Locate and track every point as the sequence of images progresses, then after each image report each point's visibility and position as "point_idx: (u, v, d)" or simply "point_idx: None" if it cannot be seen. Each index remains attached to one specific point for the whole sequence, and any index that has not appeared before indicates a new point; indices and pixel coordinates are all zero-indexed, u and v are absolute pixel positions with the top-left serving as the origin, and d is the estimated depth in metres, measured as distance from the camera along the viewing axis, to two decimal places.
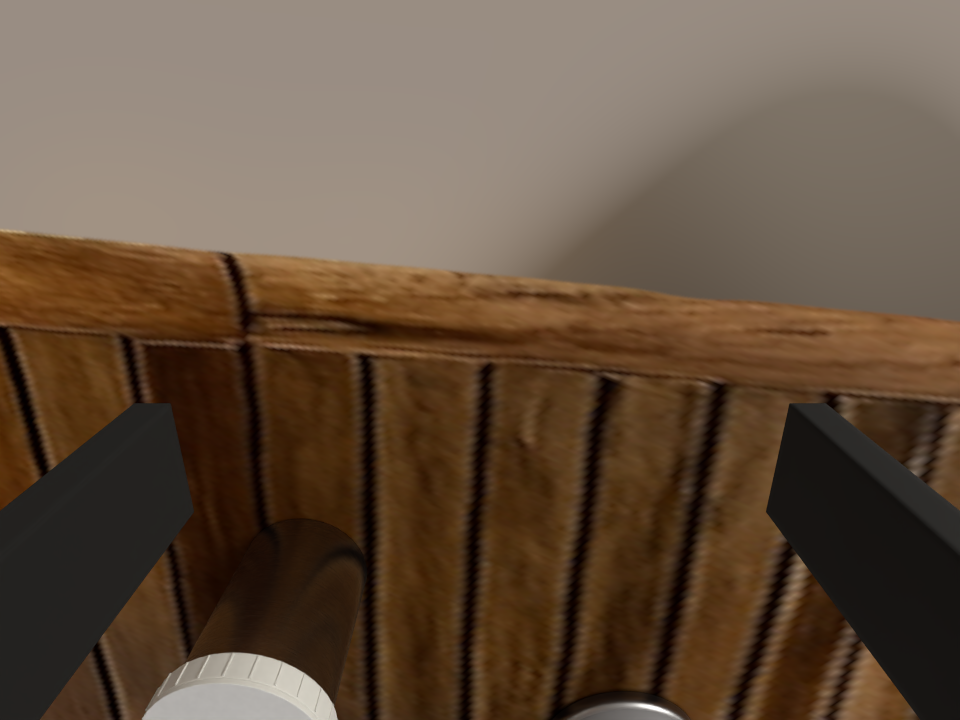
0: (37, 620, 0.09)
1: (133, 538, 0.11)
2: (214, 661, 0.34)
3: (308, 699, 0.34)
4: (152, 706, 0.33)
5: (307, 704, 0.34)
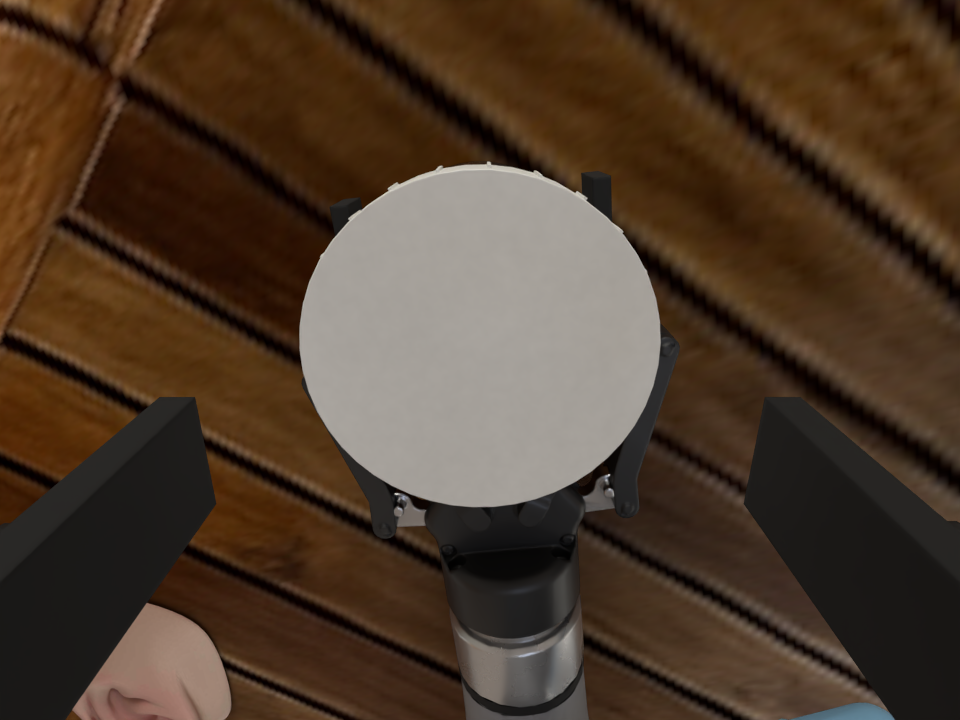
0: (76, 604, 0.09)
1: (161, 528, 0.11)
2: None
3: (464, 167, 0.17)
4: (312, 398, 0.19)
5: (466, 168, 0.17)
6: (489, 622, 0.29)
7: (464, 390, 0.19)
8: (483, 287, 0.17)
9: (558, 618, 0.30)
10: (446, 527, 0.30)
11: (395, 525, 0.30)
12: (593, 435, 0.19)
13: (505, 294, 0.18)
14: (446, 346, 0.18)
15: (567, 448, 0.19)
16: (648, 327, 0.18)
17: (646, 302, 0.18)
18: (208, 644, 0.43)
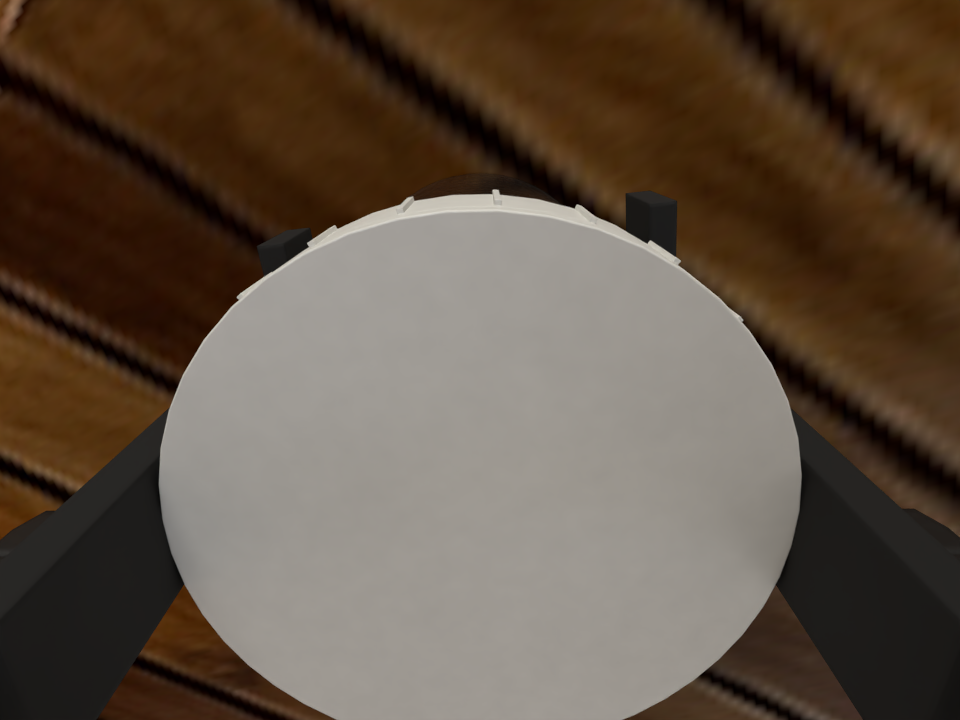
0: (119, 588, 0.09)
1: None
2: None
3: (452, 203, 0.09)
4: (192, 594, 0.11)
5: (453, 206, 0.09)
6: None
7: (453, 583, 0.11)
8: (486, 420, 0.10)
9: None
10: None
11: None
12: (671, 649, 0.11)
13: (526, 431, 0.10)
14: (420, 515, 0.10)
15: (627, 667, 0.12)
16: (781, 485, 0.10)
17: (781, 445, 0.10)
18: None
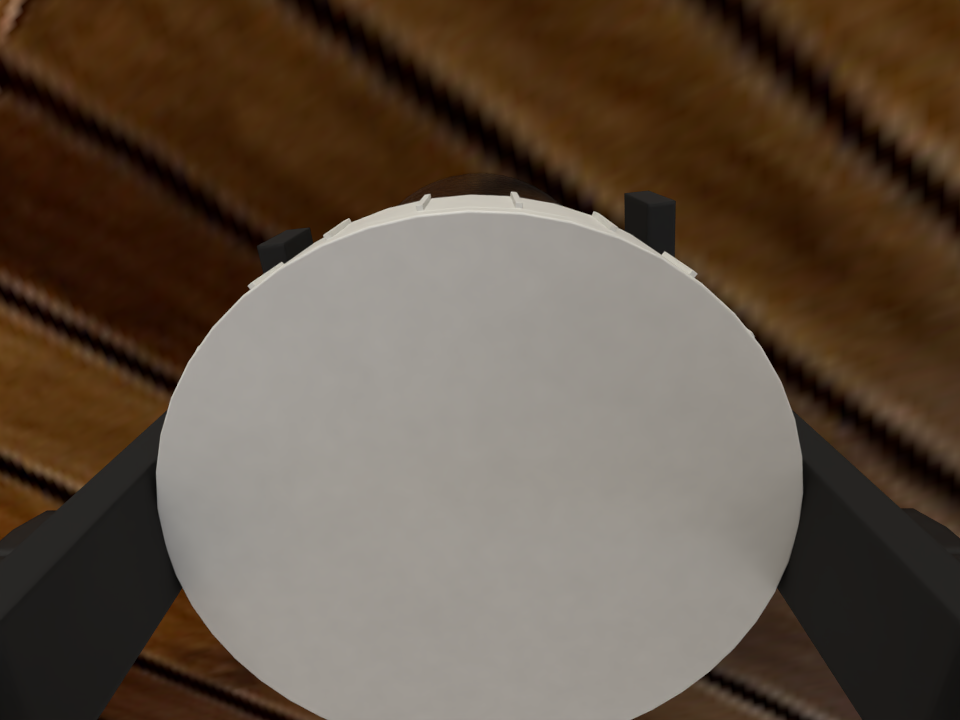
0: (120, 588, 0.09)
1: None
2: None
3: None
4: None
5: None
6: None
7: (540, 561, 0.11)
8: (351, 525, 0.10)
9: None
10: None
11: None
12: (672, 345, 0.09)
13: (363, 494, 0.10)
14: (456, 581, 0.11)
15: (693, 396, 0.09)
16: (431, 239, 0.08)
17: (376, 246, 0.08)
18: None
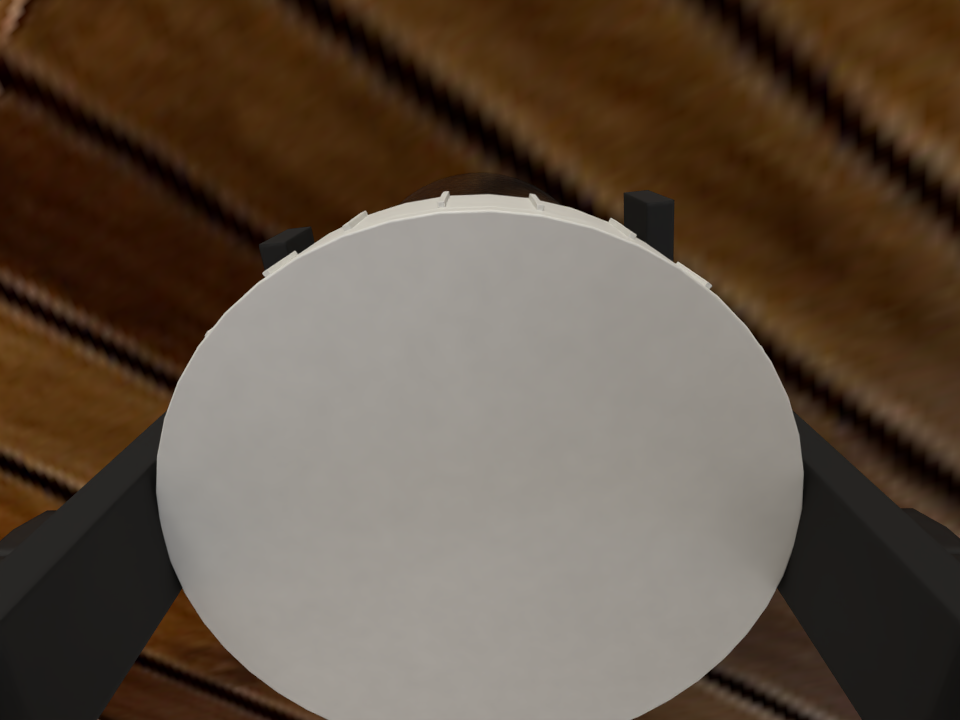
0: (120, 588, 0.09)
1: None
2: None
3: None
4: (800, 497, 0.10)
5: None
6: None
7: (516, 484, 0.10)
8: (461, 631, 0.11)
9: None
10: None
11: None
12: (261, 370, 0.09)
13: (427, 620, 0.11)
14: (535, 557, 0.10)
15: (315, 346, 0.09)
16: (187, 553, 0.10)
17: (198, 588, 0.11)
18: None
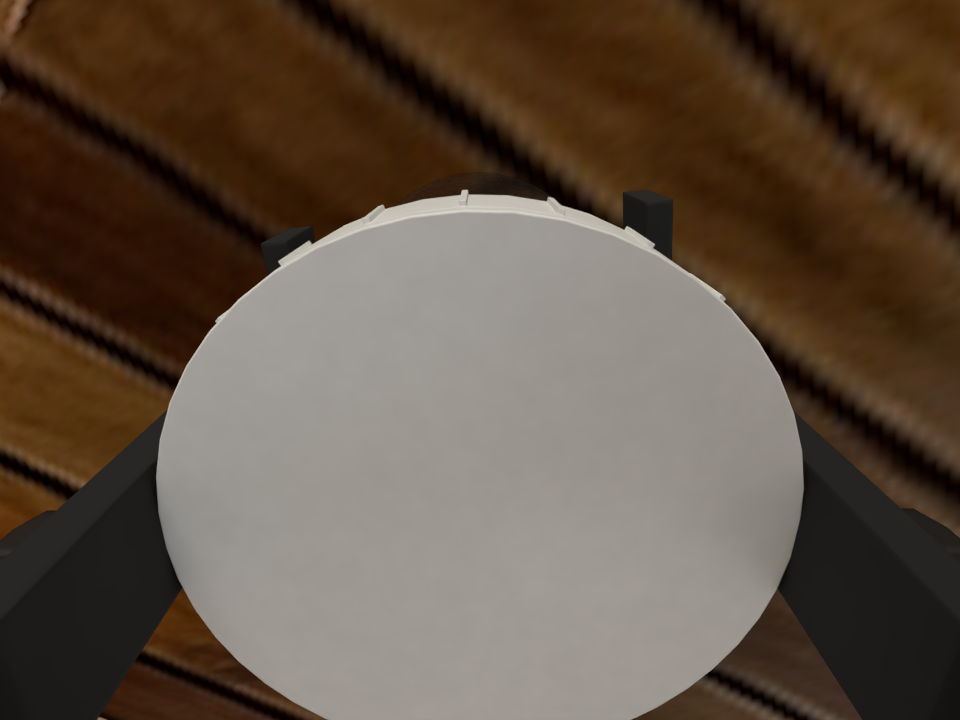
0: (120, 588, 0.09)
1: None
2: (657, 252, 0.10)
3: None
4: (446, 214, 0.08)
5: None
6: None
7: (420, 503, 0.10)
8: (602, 557, 0.10)
9: None
10: None
11: None
12: (309, 669, 0.12)
13: (583, 584, 0.11)
14: (511, 489, 0.10)
15: (286, 635, 0.11)
16: None
17: None
18: None
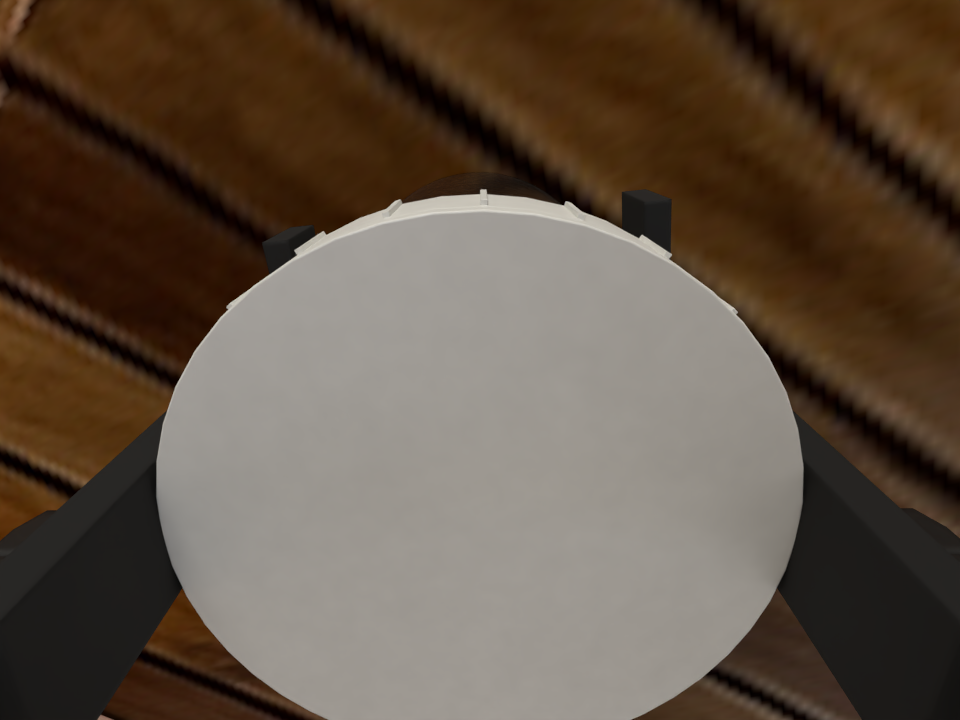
0: (120, 588, 0.09)
1: None
2: None
3: (533, 206, 0.09)
4: (166, 543, 0.10)
5: (537, 210, 0.09)
6: None
7: (439, 579, 0.11)
8: (517, 426, 0.10)
9: None
10: None
11: None
12: (632, 680, 0.12)
13: (552, 445, 0.10)
14: (426, 507, 0.10)
15: (585, 691, 0.12)
16: (775, 544, 0.10)
17: (785, 506, 0.10)
18: None
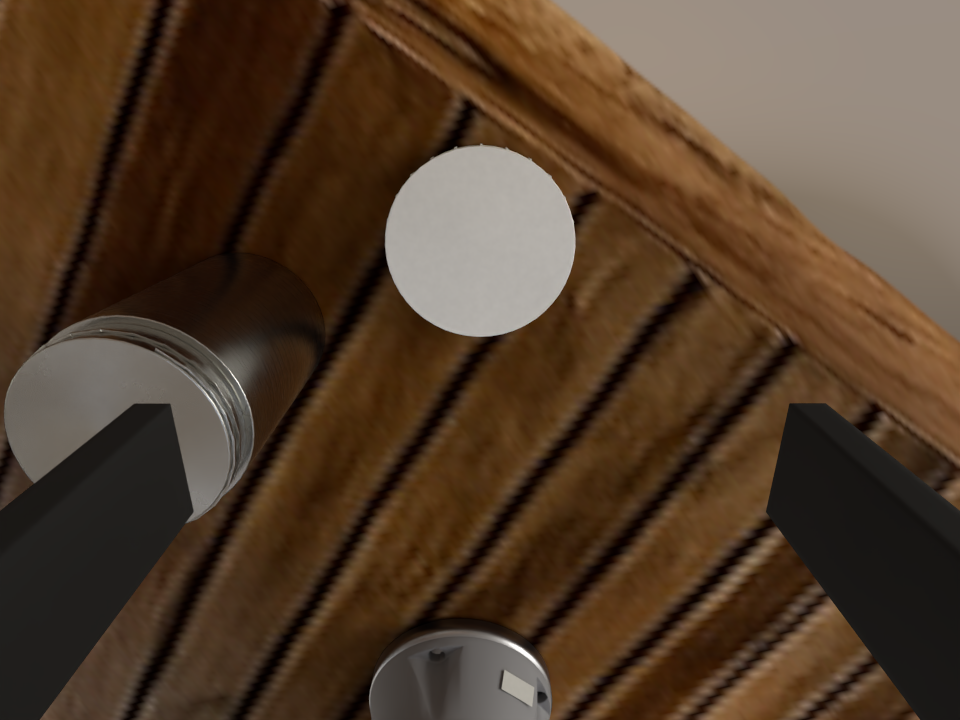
0: (37, 620, 0.09)
1: (133, 538, 0.11)
2: None
3: (494, 146, 0.33)
4: (386, 249, 0.35)
5: (495, 147, 0.33)
6: None
7: (467, 263, 0.35)
8: (490, 209, 0.34)
9: None
10: None
11: None
12: (529, 304, 0.36)
13: (500, 215, 0.34)
14: (464, 237, 0.34)
15: (514, 309, 0.36)
16: (568, 250, 0.35)
17: (570, 236, 0.34)
18: None
